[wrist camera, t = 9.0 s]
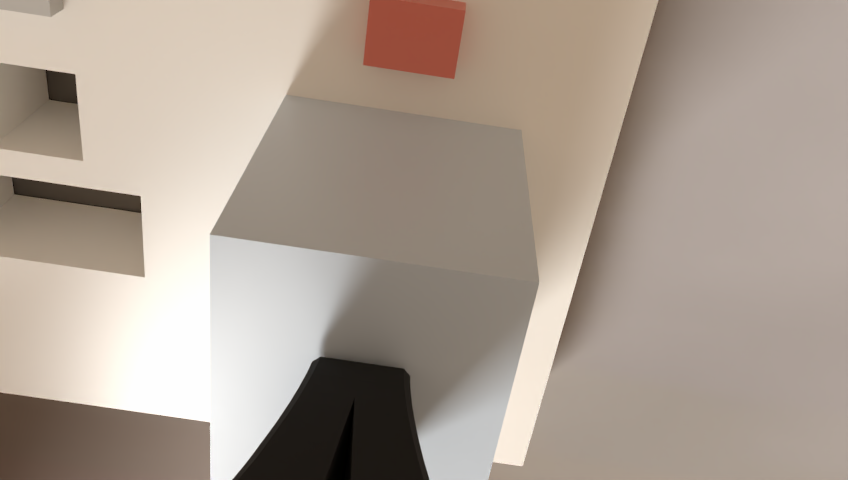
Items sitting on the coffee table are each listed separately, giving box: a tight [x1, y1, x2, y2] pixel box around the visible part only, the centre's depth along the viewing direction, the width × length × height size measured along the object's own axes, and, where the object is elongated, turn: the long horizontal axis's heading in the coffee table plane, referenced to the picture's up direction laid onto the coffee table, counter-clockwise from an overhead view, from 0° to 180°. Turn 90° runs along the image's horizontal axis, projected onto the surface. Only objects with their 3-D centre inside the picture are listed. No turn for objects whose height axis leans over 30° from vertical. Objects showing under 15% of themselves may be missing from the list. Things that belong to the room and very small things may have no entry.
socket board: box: [0, 0, 658, 466], centre depth 17 cm, size 12×15×3 cm
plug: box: [210, 95, 539, 480], centre depth 15 cm, size 6×4×7 cm
